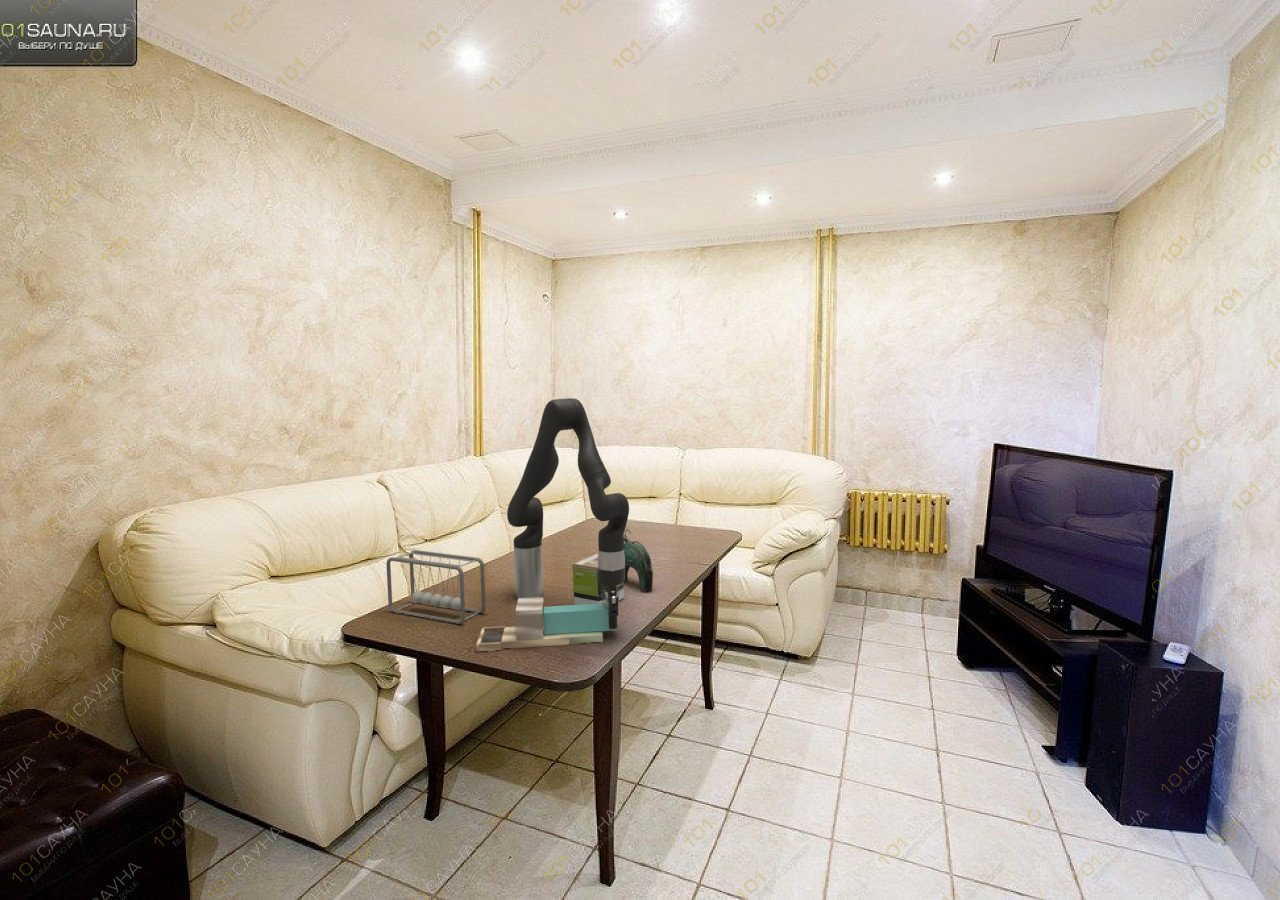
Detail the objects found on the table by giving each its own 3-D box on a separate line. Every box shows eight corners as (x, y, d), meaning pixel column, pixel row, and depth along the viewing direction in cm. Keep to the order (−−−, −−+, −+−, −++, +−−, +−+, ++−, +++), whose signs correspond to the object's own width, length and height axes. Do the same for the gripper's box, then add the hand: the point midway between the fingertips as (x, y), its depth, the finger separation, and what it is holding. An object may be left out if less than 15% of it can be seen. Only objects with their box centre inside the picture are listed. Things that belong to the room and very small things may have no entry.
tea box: (599, 593, 198) (599, 551, 197) (624, 598, 193) (624, 555, 192) (572, 607, 186) (571, 562, 184) (598, 613, 180) (597, 566, 179)
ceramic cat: (609, 580, 213) (608, 526, 211) (624, 577, 217) (623, 524, 215) (643, 594, 197) (642, 536, 195) (657, 590, 201) (657, 533, 199)
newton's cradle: (486, 614, 181) (484, 558, 179) (463, 626, 171) (461, 567, 170) (413, 601, 193) (410, 549, 191) (388, 612, 183) (385, 557, 182)
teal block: (544, 627, 164) (544, 606, 163) (615, 623, 166) (615, 602, 166) (544, 634, 159) (543, 613, 158) (617, 630, 161) (616, 608, 161)
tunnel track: (482, 634, 165) (481, 599, 164) (600, 626, 169) (599, 592, 168) (476, 652, 153) (475, 614, 152) (603, 643, 158) (602, 607, 157)
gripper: (596, 558, 169) (597, 615, 170) (599, 573, 155) (600, 635, 156) (622, 557, 170) (622, 614, 171) (627, 572, 156) (628, 633, 157)
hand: (612, 624), depth 164 cm, fingers closed on teal block, 5 cm apart
